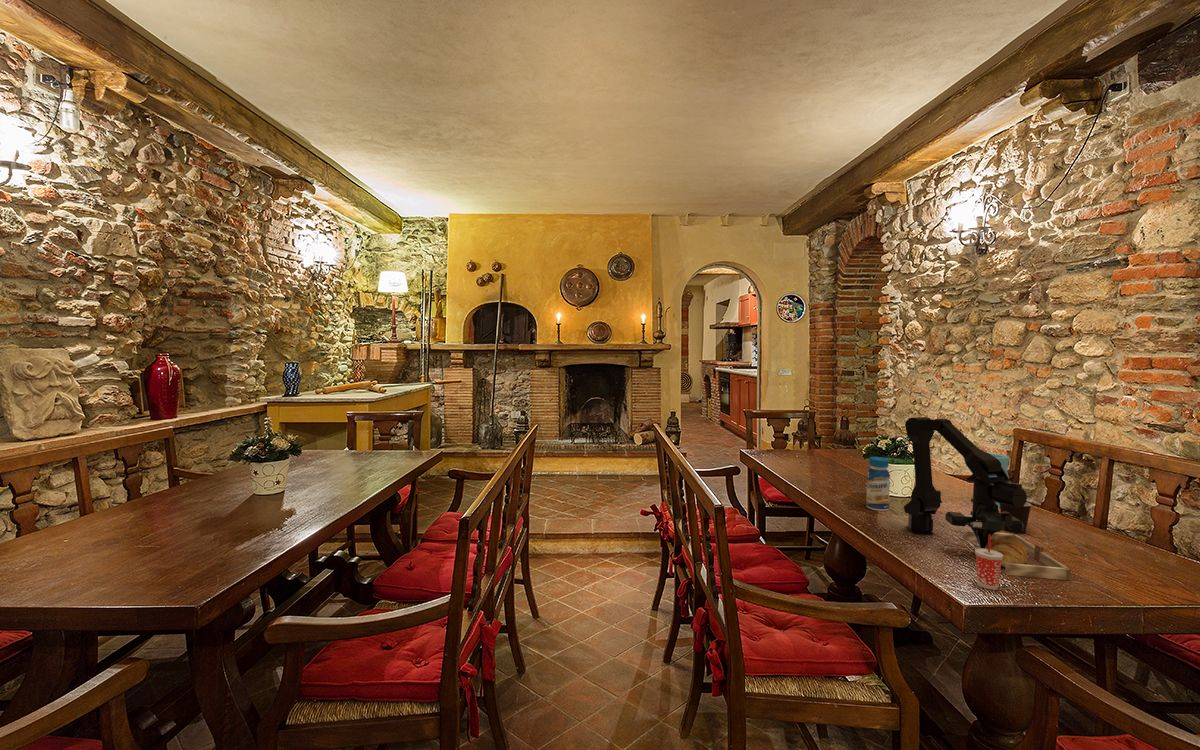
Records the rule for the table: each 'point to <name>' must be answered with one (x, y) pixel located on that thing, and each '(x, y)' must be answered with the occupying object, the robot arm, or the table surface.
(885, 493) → the beverage bottle
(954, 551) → the table surface
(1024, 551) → the croissant
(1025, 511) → the coffee mug
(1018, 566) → the frame
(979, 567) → the beverage cup
